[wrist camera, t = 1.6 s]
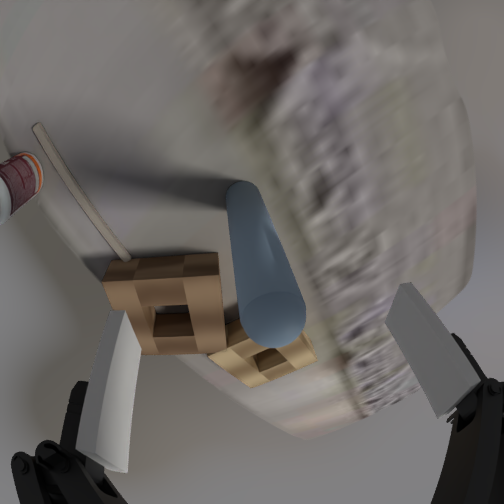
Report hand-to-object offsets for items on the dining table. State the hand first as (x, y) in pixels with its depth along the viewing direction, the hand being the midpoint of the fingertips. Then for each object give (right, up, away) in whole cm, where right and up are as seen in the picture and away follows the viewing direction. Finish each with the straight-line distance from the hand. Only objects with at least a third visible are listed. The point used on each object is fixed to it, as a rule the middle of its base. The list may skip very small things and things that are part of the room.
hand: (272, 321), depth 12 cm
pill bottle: (-23, +11, +7) cm, 26 cm away
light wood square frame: (0, -8, +22) cm, 23 cm away
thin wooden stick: (-17, +8, +9) cm, 21 cm away
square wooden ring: (-10, -2, +17) cm, 19 cm away
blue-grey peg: (-2, +8, +12) cm, 14 cm away
